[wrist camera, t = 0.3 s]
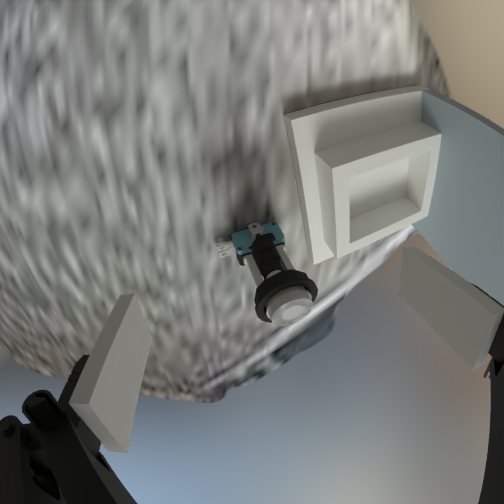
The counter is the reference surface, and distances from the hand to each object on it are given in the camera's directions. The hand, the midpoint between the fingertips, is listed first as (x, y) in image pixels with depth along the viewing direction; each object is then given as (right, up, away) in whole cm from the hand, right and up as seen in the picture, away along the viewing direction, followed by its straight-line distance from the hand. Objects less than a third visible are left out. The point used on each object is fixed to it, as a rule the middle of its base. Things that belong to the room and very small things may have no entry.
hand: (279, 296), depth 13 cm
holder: (+11, +10, +15) cm, 21 cm away
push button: (-2, +4, +16) cm, 17 cm away
